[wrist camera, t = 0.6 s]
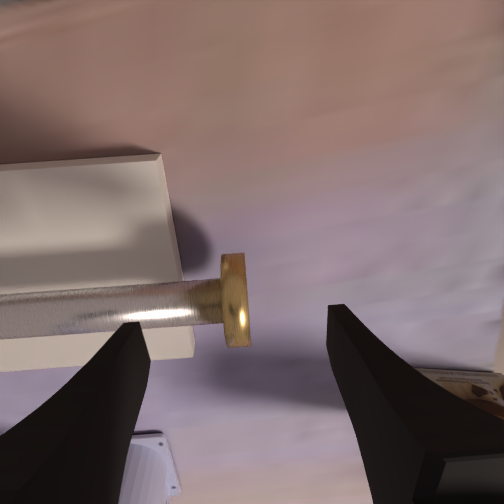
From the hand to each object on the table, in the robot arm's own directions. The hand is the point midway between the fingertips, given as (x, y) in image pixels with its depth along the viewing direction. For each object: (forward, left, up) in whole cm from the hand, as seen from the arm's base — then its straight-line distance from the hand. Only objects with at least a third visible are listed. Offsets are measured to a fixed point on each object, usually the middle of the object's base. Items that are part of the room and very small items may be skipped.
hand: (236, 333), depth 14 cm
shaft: (-2, +11, -8) cm, 14 cm away
